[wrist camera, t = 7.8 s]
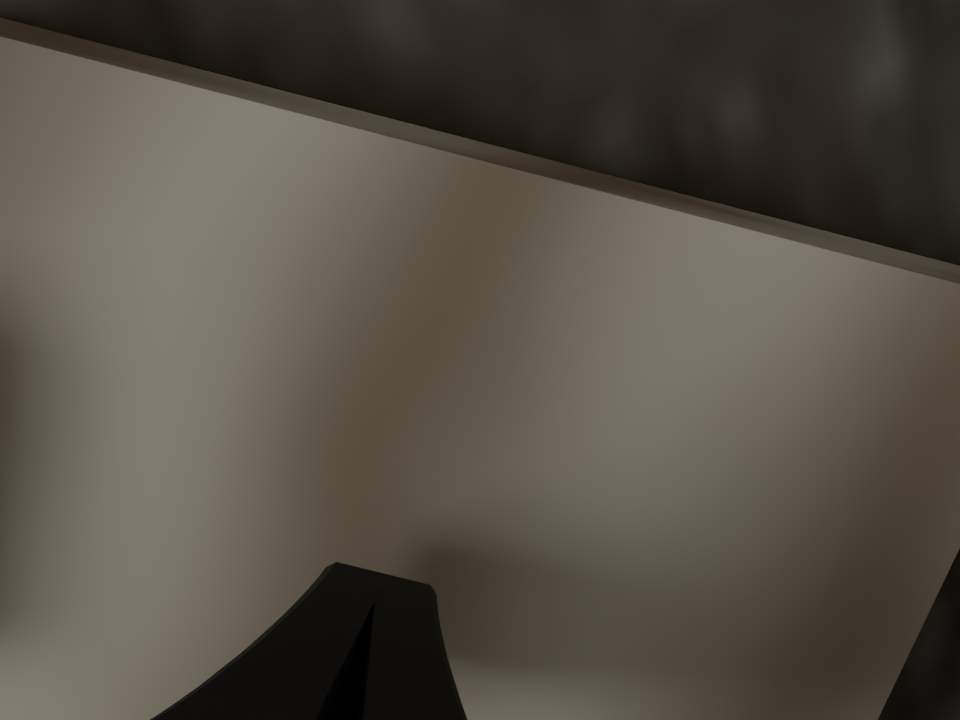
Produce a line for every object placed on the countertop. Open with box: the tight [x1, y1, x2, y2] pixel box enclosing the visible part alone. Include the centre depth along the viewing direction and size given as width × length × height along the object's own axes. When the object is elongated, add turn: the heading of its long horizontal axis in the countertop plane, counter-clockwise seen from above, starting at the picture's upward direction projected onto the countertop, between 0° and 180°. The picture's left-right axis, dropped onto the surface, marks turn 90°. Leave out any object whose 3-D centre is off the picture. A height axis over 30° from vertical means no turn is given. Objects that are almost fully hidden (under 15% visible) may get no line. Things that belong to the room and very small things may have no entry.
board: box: [0, 18, 960, 720], centre depth 13 cm, size 14×12×2 cm
